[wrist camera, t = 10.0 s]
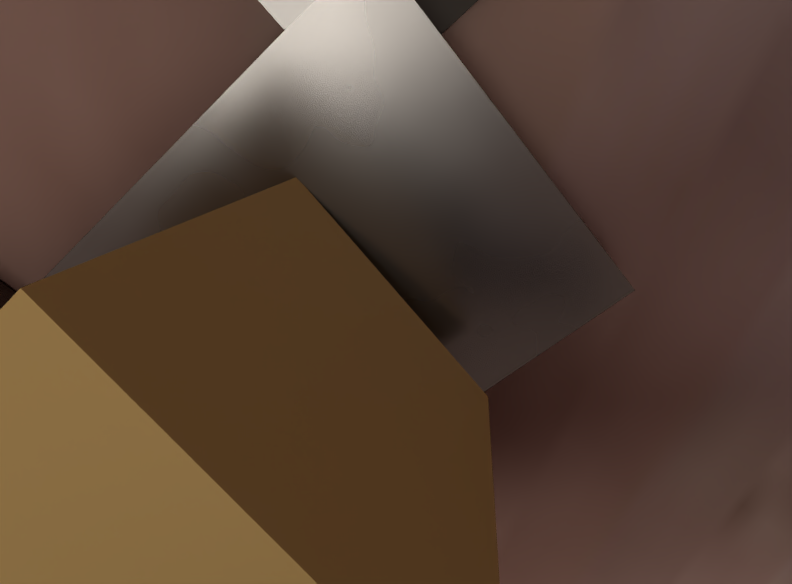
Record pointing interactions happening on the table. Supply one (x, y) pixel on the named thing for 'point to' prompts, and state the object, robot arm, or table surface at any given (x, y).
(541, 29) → the table surface
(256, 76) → the gray rectangular frame
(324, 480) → the block
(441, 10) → the pad
